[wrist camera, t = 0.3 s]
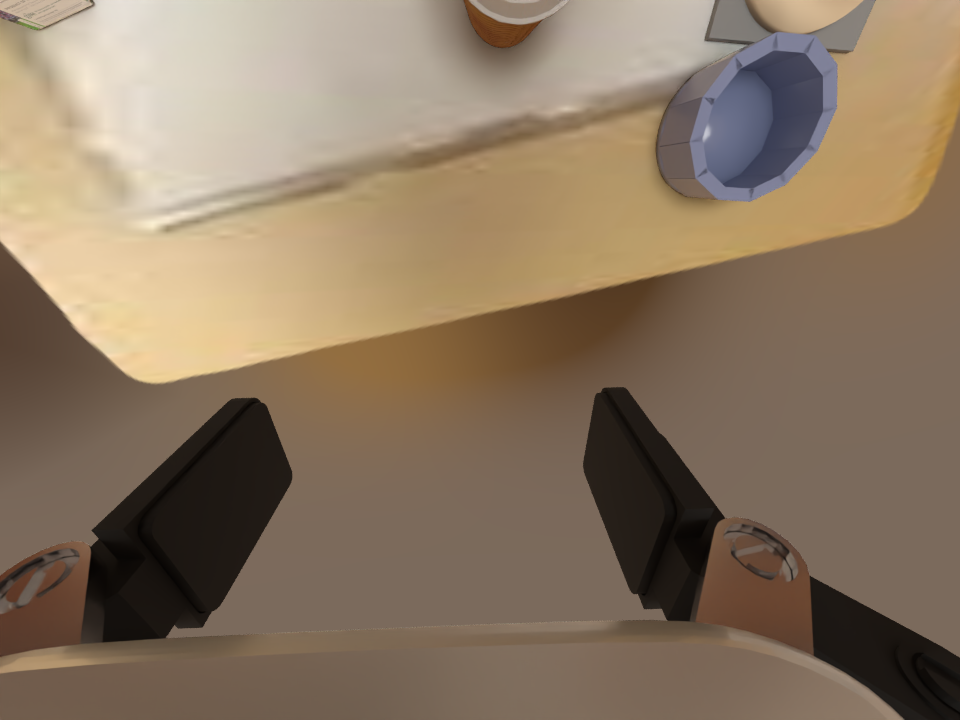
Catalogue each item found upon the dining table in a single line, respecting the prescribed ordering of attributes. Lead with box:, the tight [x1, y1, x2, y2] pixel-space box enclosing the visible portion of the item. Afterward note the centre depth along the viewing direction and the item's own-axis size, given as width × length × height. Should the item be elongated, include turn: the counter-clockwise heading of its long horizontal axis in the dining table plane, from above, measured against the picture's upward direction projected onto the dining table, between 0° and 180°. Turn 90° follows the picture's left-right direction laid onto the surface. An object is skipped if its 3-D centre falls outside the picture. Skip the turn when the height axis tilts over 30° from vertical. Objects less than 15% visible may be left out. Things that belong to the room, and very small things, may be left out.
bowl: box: [656, 32, 837, 202], centre depth 30 cm, size 11×11×6 cm
